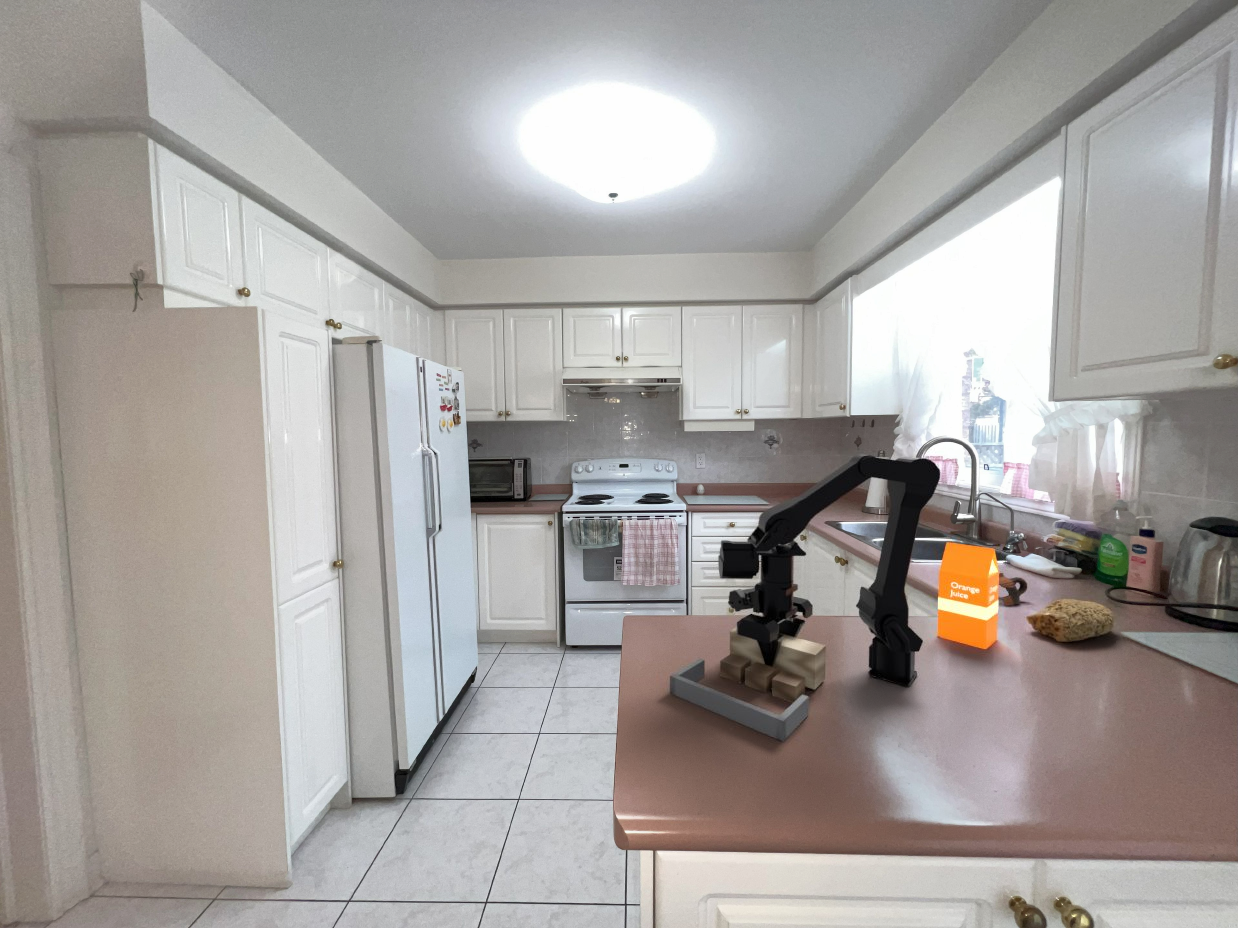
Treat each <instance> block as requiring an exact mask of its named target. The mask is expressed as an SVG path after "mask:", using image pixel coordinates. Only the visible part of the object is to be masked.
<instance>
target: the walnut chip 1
mask: <svg viewBox="0 0 1238 928" xmlns="http://www.w3.org/2000/svg"><path fill="white" fill-rule="evenodd" d="M719 663H720V664H719V675H720V677H722V678H723V679H728V680H729V681H732V682H735V683H739V684H741V683H743V682H745V669H746V668H747V667H749V666H750V665H751V660H750V659H747V658H744V657H741V656H737V655H734V654H730V653H729V654H728V655H726V656H725V657H724V658H722V659H720V661H719Z"/></svg>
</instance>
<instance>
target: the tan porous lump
mask: <svg viewBox="0 0 1238 928" xmlns="http://www.w3.org/2000/svg"><path fill="white" fill-rule="evenodd" d="M1025 619H1026V621H1027V622H1028V625H1031V626H1032V627H1031V628H1032V629H1033V630H1034V631H1038V633H1039V634H1042V635H1044V636H1048V637H1049V638H1053V639H1054V640H1056V642H1058V643H1059V642H1060V643H1063V642H1064V643H1069V642H1078V641H1083V640H1086V639H1089V638H1093V637H1099V636H1102V635H1105V634H1108V633H1109V632H1110V631H1112V629H1113V628H1114V623H1115V622H1114V620H1115V615H1114V612H1113V611H1111V610H1110V609H1109V608H1108V607H1107V606H1106V605H1103V604H1100V603H1098V602H1094V601H1092V600H1090V601H1088V600H1086V601H1085V600H1078V599H1072V598H1061V599H1058V600H1053V601H1052V602H1051V603H1049V604H1047V605H1046V606H1044V609H1042V610H1040V611H1037V612H1036V613H1034V614H1028V615H1027V616H1026V617H1025Z"/></svg>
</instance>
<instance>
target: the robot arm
mask: <svg viewBox="0 0 1238 928" xmlns="http://www.w3.org/2000/svg"><path fill="white" fill-rule="evenodd" d="M871 478H872V479H873V478H874V479H881V480H886V481H887V483H886V485H887V486H886V487H887V493H888V496H889V501H890V508H889V512H888V518H887V522H886V528H885V531H884V535H883V537H884V538H883V541H882V546H881V551H880V556H879V561H878V566H877V570H876V574H875V575H876V576H875V579H874V581H873V582H872V584H871V585H870V586H869V587H868V588H867V587H864V586H861V587H860V589H859V599H858V602H857V603H856V605H855V607H856V608H857V609H858V616H859V618H860V620H861V621H862V622H863V623H864V624H865V625H866V626H868V629H869V632H870V633H871V634H873V635H874V637H873V638H872V640H871V641H872V642H871V644H870V645H869V646H868V668H869V669H870V670H869V671H868V675H869V676H871V677H874V678H878V679H881V680H885V681H888V682H890V683H893V684H896V685H897V684H898V685H901V686H905V687H909V686H911V684H912V683H913V681H914V680H915V678H916V677H917V675H918V671H917V670H916V669H915V662H916V652H920V650H921V647H922V645H923V642H924V641H923V639H922V637H920V636H919V635H918V634H917V633H916V632H915V631H914V630H913V629H912V628H911V627H910V626H909V611H910V610H909V604H908V599H907V595H906V583H907V579H908V574H909V569H910V564H911V560H912V555H913V551H914V546H915V541H916V537H917V532H918V527H919V523H920V518H921V513H922V511H923V509H924V508H925V507H926V506H927V504H928V503H929V502H930V500H932V498H933V496H934V495H935V492H936V490H937V487H938V484H939V482H940V480H941V470H940V468H939V467H938V465H937V464H936V463H935V462H934V461H933V460H931V459H929V458H927V457H925V458H924V457H913V456H901V457H899V458H896V459H889V458H883V457H876V456H874V455H871V454H857V455H854V456H853V457H851V458H850V460H849V461H848V462H846V463H845V464H842V466H840V467H839V468H837V469H836V470H834V471H833V472H832V473H830V474H829V475H827V476H825V478H823V479H821V480H820V481H818V482H817V483H815V485H813V486H811V487H810V488H809V489H807V490H806V491H804V492H803V493H801V494H800V495H798V496H796V497H795V498H792V499H789V500H786V501H783V502H780V503H778V504H776V505H774V506H772V507H769V508H766V509H765V510H763V512H762V513H761V514H760V515H759V517H758V525H757V526H756V527H755V528H754V530H753V531H752V533H751V534H750V535H749V537H748V538H747V539H746V540H747V541H732V540H721V541H720V549H719V555H718V556H717V558H718V559H717V561H718V563H717V565H718V573H719V574H718V575H719V578H720V579H725V580H726V579H727V580H728V579H731V580H735V579H739V580H743V579H744V580H746V579H747V580H752V579H753V578H754V577H757V574H759V573H760V581H759V582H757V583H756V584H755V585H754V587H753V588H746V589H741V588H738V589H733V590H731V591H729V595H728V602H727V603H728V605H729V606H730V608H731V609H734V611H735V612H741V611H743V610H750V609H752V612H753V613H750V614H748V615H745V616H744V617H742V618H741V619H739V620H738V621H736V627H737V634H738V635H741V636H744V637H747V638H751V639H754V640H757V642H758V645H759V647H760V650H761V653H762V656H763V659H764V663H765V665H768V666H771V667H773V665H774V663H775V660H776V657H777V654H778V652H779V649H780V646H781V643H782V640H783V638H784V635H788V636H792V637H795V638H798V637H797V636H798V635H799V633H800V632H801V629H802V628H803V626H805V623H806V620H805V619H809V618H810V617H812V616H813V611H814V610H813V609H814V608H813V604H812V603H811V601H810V600H809V599H806V598H802V597H796V596H794V593H795V592H796V591H798V589H799V587H798V586H799V584H797V583H794V573H795V572H794V570H795V569H794V568H795V567H794V566H795V565H794V563H795V561H794V560H795V557H805V556H807V552H806V551H805V550H803V549H802V548H801V547H800V545H799V543H798V542H797V541H796V540H795V539H796V538H798V536H800V534H801V533H803V531H805V529H807V527H808V525H809V524H810V522H811V521H812V520H813V519H814V518H815V516H817V515H818V514H819V513H821V512H823V511H824V510H826V509H827V508H828V507H830V506H831V505H833V504H834V503H836V502H837V501H838V500H840V499H841V498H843V497H845V496H846V495H847V494H848V493H850V492H852V491H853V490H854V489H856V488H857V487H859V486H861V485H863V483H865V482H866V481H867V480H870V479H871ZM754 613H756V614H754ZM797 613H802V614H801V615H802V616H803V617H802V618H804V619H802V618H799V614H797ZM757 614H762V616H761V615H757ZM779 633H780V634H779ZM781 634H784V635H781Z"/></svg>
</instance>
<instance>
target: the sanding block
mask: <svg viewBox="0 0 1238 928" xmlns="http://www.w3.org/2000/svg"><path fill="white" fill-rule="evenodd" d="M779 634H780V633H779ZM781 635H784V634H781ZM826 647H827V645H825V644H821V643H818V642H813V641H810V640H806V639H803V638H798V637H796V638H795V637H792V636H788V635H784V638H783V640H782V643H781V646H780V649H779V652H778V654H777V657H776V660H775V663H774V665H773V667H774V668H777V674H778V673H780V672H781V671H782V670H783V671H786V672H789V673H792V674H796V675H799V676H802V677H805V688H809V689H811V690H814V691H815V690H816V689H817V688H818V687H820V685H821V684H822V683H823V682H824V681H825V679H826V659H827V658H826V657H827V656H826V654H827V653H826V652H827V651H826V650H827V649H826ZM730 654H734V655H737V656H741V657H744V658H747V659H750V660H751V665H752V664H754V663H755V662H759V663H762V664H765V663H764V659H763V656H762V653H761V650H760V647H759V645H758V642H757V640H754V639H751V638H747V637H744V636H741V635H738V634H737V626H736V627H734V628H733V629H731V630H730V631H729V655H730Z"/></svg>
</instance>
